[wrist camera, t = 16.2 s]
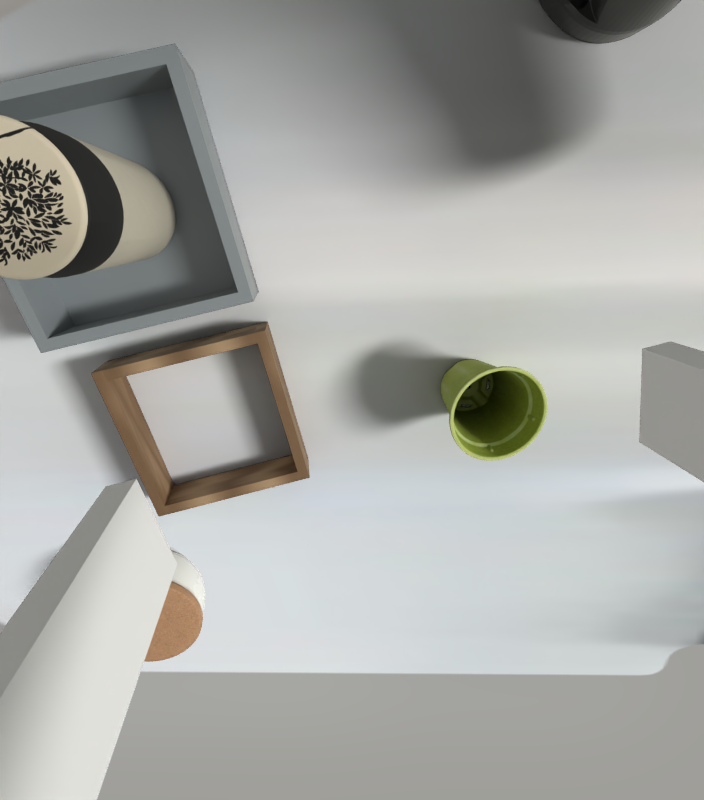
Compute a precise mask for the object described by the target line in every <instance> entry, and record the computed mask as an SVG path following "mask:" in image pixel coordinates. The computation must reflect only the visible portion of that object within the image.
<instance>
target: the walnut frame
mask: <svg viewBox="0 0 704 800" xmlns="http://www.w3.org/2000/svg"><path fill="white" fill-rule="evenodd" d="M254 344H258V346H259V349H260V353H261V356H262V359H263V362H264V365H265V369H266V372H267V375H268V378H269V381H270V385H271V388H272V391H273V394H274V398H275V401H276V404H277V407H278V410H279V414H280V417H281V420H282V423H283V426H284V430H285V433H286V436H287V439H288V442H289V446H290V449H291V452H292V455H290V456H286V457H282V458H278V459H274V460H271V461H267V462H263V463H259V464H255V465H251V466H247V467H243V468H239V469H235V470H232V471H228V472H224V473H220V474H216V475H212V476H208V477H204V478H200V479H196V480H193V481H189V482H185V483H181V484H177V485H174V483H173V481H172V479H171V477H170V474H169V472H168V470H167V468H166V465H165V463H164V461H163V459H162V456H161V454H160V452H159V450H158V447H157V445H156V443H155V441H154V438H153V436H152V434H151V432H150V429H149V427H148V425H147V422H146V420H145V418H144V416H143V413H142V411H141V409H140V407H139V404H138V402H137V400H136V398H135V395H134V393H133V391H132V389H131V386H130V384H129V382H128V380H127V377H126V376H128V375H133V374H137V373H141V372H145V371H149V370H153V369H157V368H161V367H165V366H169V365H173V364H177V363H181V362H185V361H189V360H193V359H197V358H201V357H205V356H209V355H213V354H217V353H221V352H226V351H230V350H234V349H238V348H242V347H246V346H250V345H254ZM91 375H92V377H93V379H94V381H95V383H96V385H97V387H98V389H99V391H100V394H101V396H102V398H103V400H104V402H105V404H106V406H107V408H108V410H109V413H110V415H111V417H112V419H113V421H114V423H115V425H116V427H117V429H118V432H119V434H120V436H121V438H122V440H123V442H124V444H125V446H126V448H127V451H128V453H129V455H130V457H131V459H132V461H133V463H134V465H135V467H136V470H137V472H138V474H139V476H140V478H141V480H142V482H143V484H144V486H145V489H146V491H147V493H148V495H149V497H150V499H151V501H152V503H153V505H154V508H155V510H156V512H157V514H158V516H163V515H166V514H170V513H174V512H178V511H182V510H186V509H190V508H193V507H197V506H201V505H205V504H209V503H213V502H217V501H221V500H224V499H228V498H232V497H236V496H240V495H244V494H248V493H251V492H255V491H259V490H263V489H267V488H271V487H275V486H279V485H282V484H286V483H290V482H294V481H298V480H302V479H306V478H309V463H308V457H307V453H306V450H305V446H304V443H303V440H302V436H301V433H300V430H299V426H298V423H297V419H296V416H295V413H294V409H293V406H292V403H291V399H290V396H289V393H288V389H287V386H286V382H285V379H284V376H283V372H282V369H281V366H280V362H279V359H278V355H277V352H276V349H275V345H274V342H273V339H272V335H271V332H270V329H269V325H268V322H264V323H260V324H256V325H252V326H248V327H244V328H240V329H236V330H232V331H228V332H224V333H220V334H216V335H212V336H208V337H203V338H199V339H195V340H191V341H187V342H183V343H179V344H175V345H171V346H167V347H163V348H159V349H155V350H151V351H146V352H142V353H138V354H134V355H130V356H126V357H122V358H118V359H114V360H110V361H107V362H106V363H105V364H103V365H102V366H100V367H99V368H98V369H96V370H95V371H94V372H92V373H91Z"/></svg>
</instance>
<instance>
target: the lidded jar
mask: <svg viewBox="0 0 704 800" xmlns="http://www.w3.org/2000/svg"><path fill="white" fill-rule="evenodd" d="M171 552H172V551H171ZM172 554H173V556H174V558H175V560H176V562H177V567H176V570H175V573H174V576H173V579H172V581H171V584H170V587H169V590H168V593H167V596H166V599H165V602H164V605H163V608H162V611H161V614H160V616H159V619H158V622H157V625H156V628H155V631H154V634H153V637H152V640H151V643H150V646H149V649H148V652H147V654H146V657H145V660H144V661H160V660H165V659H168V658H172V657H174V656H176V655H178V654H180V653H182V652H184V651H185V650H186V649H188V648H189V647H190V646H191V645H192V644H193V643H194V642H195V641H196V639H197V637H198V636H199V633H200V630H201V627H202V620H203V612H204V605H205V587H204V583H203V579H202V576H201V574H200V572H199V571H198V569H197V568H196V566H195V565H194V564H193V563H192V562H191V561H189V560H188V559H187V558H186V557H184V556H183V555H181V554H179V553H176V552H172Z"/></svg>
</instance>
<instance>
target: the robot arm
mask: <svg viewBox="0 0 704 800" xmlns="http://www.w3.org/2000/svg"><path fill="white" fill-rule="evenodd" d="M680 1H681V0H540V2H541V4H542V6H543V8H544V9H545V11H546V12H547V14H548V15H549V17H550V18H551V19H552V20H553V21H554V22H555V23H556V24H557V25H558V26H559V27H560V28H561V29H562V30H564V31H565V32H566V33H568V34H570V35H571V36H573V37H575V38H578V39H580V40H583V41H587V42H592V43H609V42H615V41H618V40H622V39H625V38H627V37H629V36H631V35H634V34H635V33H637V32H639V31H641V30H642V29H644V28H646V27H648V26H649V25H651V24H653V23H655V22H656V21H658V20H659V19H661V18H662V17H663V16H665V15H666V14H667V13H668V12H669V11H671V10H672V9H673V8H674V7H675V6H676V5H677V4H678V3H679V2H680ZM639 442H640V443H642V444H643V445H645V446H646V447H648V448H650V449H651V450H653V451H654V452H656V453H658V454H659V455H661V456H663V457H664V458H666V459H667V460H669V461H671V462H672V463H674V464H675V465H677V466H679V467H680V468H682V469H683V470H685V471H687V472H688V473H690V474H691V475H693V476H695V477H696V478H698V479H700V480H701V481H703V482H704V351H700V350H697V349H694V348H690V347H687V346H684V345H680V344H677V343H674V342H667V343H663V344H659V345H655V346H651V347H647V348H644V349H642V375H641V406H640V437H639ZM176 567H177V562H176V560H175V558H174V556H173V554H172V552H171V549H170V547H169V545H168V543H167V541H166V539H165V537H164V535H163V533H162V531H161V529H160V527H159V524H158V522H157V520H156V518H155V516H154V514H153V512H152V510H151V508H150V506H149V504H148V502H147V500H146V497H145V495H144V493H143V491H142V489H141V487H140V485H139V483H138V481H137V479H133V480H130V481H126V482H122V483H118V484H114V485H110V486H106V487H105V488H104V490H103V491H102V493H101V494H100V495H99V497H98V498H97V499H96V501H95V502H94V504H93V505H92V506H91V508H90V509H89V511H88V512H87V513H86V515H85V516H84V518H83V519H82V520H81V522H80V523H79V524H78V526H77V527H76V529H75V530H74V531H73V533H72V534H71V536H70V537H69V538H68V540H67V541H66V542H65V544H64V545H63V547H62V548H61V549H60V551H59V552H58V554H57V555H56V556H55V558H54V559H53V561H52V562H51V563H50V565H49V566H48V567H47V569H46V570H45V572H44V573H43V574H42V576H41V577H40V579H39V580H38V581H37V583H36V584H35V586H34V587H33V588H32V590H31V591H30V592H29V594H28V595H27V597H26V598H25V599H24V601H23V602H22V604H21V605H20V606H19V608H18V609H17V611H16V612H15V613H14V615H13V616H12V617H11V619H10V620H9V622H8V623H7V624H6V626H5V627H4V629H3V630H2V631H1V633H0V800H97V797H98V795H99V792H100V789H101V786H102V783H103V780H104V777H105V774H106V771H107V768H108V765H109V762H110V759H111V757H112V754H113V750H114V748H115V745H116V742H117V739H118V736H119V733H120V730H121V727H122V724H123V722H124V719H125V716H126V713H127V710H128V707H129V704H130V701H131V698H132V695H133V692H134V689H135V686H136V684H137V681H138V678H139V675H140V672H141V669H142V666H143V663H144V660H145V657H146V654H147V652H148V649H149V646H150V643H151V640H152V637H153V634H154V631H155V628H156V625H157V622H158V619H159V616H160V614H161V611H162V608H163V605H164V602H165V599H166V596H167V593H168V590H169V587H170V584H171V581H172V579H173V576H174V573H175V570H176Z"/></svg>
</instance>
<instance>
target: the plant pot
mask: <svg viewBox="0 0 704 800" xmlns="http://www.w3.org/2000/svg"><path fill="white" fill-rule="evenodd" d="M487 379H488V380H489V383H490V385H489V389H488V390H487V391H486V390H485V389H486V385H487ZM469 385H470V386H471V387H470V389H467V387H468V386H469ZM440 390H441V396H442V399H443V401H444V403H445V405H446V408H447V410H448V412H449V414H450V416H449V423H450V429H451V433H452V436H453V438H454V440H455V442H456V444H457V445H458V446H459V447H460V448H461V449H462V450H463V451H464V452H465V453H466V454H468V455H470V456H471V457H474V458H477V459H480V460H486V461H493V460H501V459H505V458H508V457H511V456H513V455H515V454H517V453H519V452H520V451H522V450H523V449H525V448H526V447H527V446H528V445H530V444H531V443H532V442H533V440H534V439H535V438H536V437H537V435H538V434H539V432H540V431H541V429H542V427H543V425H544V422H545V419H546V415H547V398H546V394H545V391H544V389H543V387H542V385H541V384H540V382H539V381H538V380H537V379H536V378H535V377H534V376H533V375H532V374H530V373H528V372H527V371H525V370H522V369H519V368H516V367H507V366H506V367H495V366H492V365H490V364H487V363H484V362H482V361H479V360H474V359H468V360H463V361H460V362H458V363H456V364H455V365H454V366H453V367H452V368H451V369H449V370H448V371H447V372H446V373H445V375H444V377H443V379H442V382H441V387H440ZM461 404H465V405H469V404H472V405H471V406H470V407H461V406H460V405H461Z"/></svg>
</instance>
